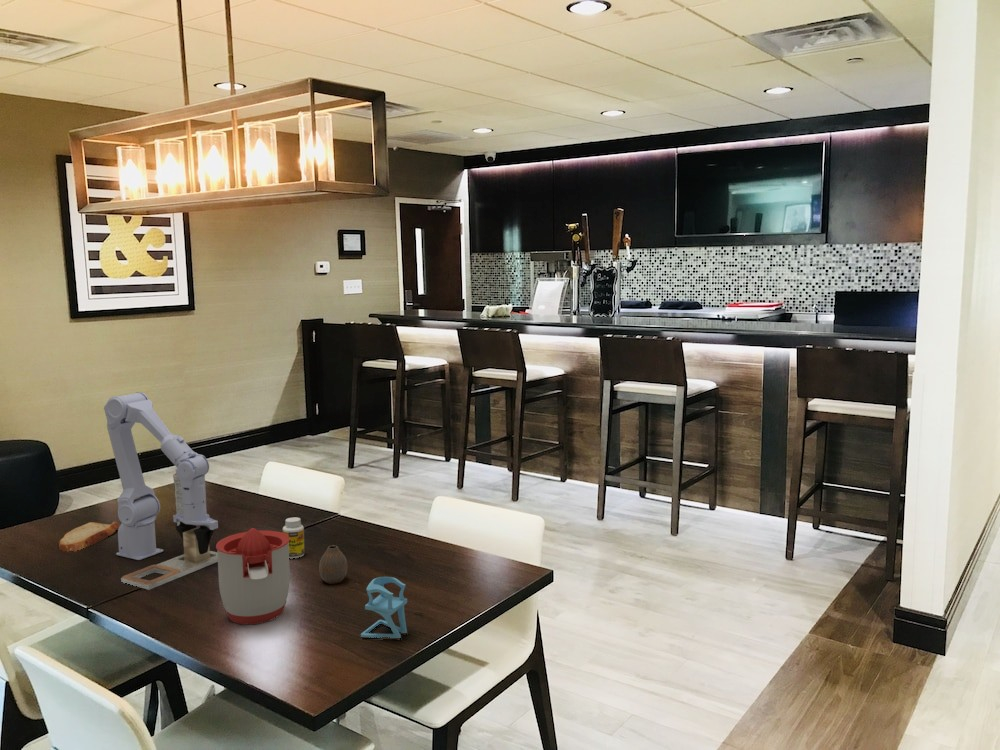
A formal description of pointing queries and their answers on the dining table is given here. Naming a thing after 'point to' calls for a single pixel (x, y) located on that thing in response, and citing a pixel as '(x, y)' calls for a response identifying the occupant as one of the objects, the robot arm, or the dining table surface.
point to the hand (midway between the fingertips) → (196, 551)
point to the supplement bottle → (295, 537)
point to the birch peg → (193, 548)
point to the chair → (386, 607)
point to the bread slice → (86, 535)
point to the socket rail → (167, 571)
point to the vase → (333, 565)
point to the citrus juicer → (254, 575)
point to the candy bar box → (178, 496)
